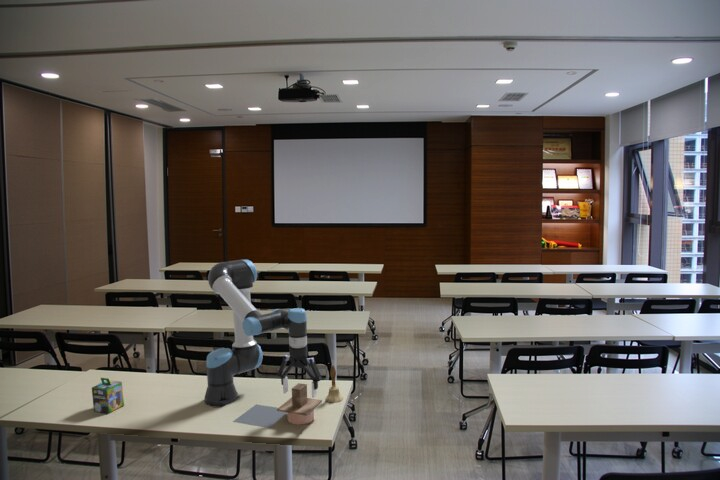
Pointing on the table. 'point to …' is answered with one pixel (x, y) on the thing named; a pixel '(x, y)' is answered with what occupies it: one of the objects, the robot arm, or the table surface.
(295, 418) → the terracotta bowl
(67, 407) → the table surface
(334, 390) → the hand bell
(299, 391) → the walnut lid
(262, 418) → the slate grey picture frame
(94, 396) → the chalk box
